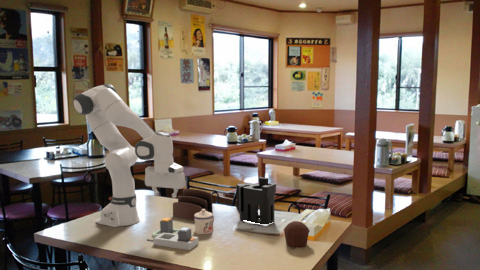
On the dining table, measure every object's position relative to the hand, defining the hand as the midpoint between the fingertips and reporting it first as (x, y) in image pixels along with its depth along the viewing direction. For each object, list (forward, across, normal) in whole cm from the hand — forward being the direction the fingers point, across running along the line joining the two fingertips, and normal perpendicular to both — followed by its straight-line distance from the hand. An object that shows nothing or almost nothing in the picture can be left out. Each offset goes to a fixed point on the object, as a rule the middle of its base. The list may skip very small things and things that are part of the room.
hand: (165, 196), depth 203 cm
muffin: (+20, +60, +10) cm, 64 cm away
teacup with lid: (+19, +15, +11) cm, 27 cm away
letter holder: (+20, -3, +31) cm, 37 cm away
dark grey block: (+18, +15, -10) cm, 26 cm away
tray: (+19, 0, 0) cm, 19 cm away
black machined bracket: (+20, +32, +35) cm, 51 cm away
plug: (+18, 0, 0) cm, 19 cm away
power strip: (+19, +8, -10) cm, 23 cm away
